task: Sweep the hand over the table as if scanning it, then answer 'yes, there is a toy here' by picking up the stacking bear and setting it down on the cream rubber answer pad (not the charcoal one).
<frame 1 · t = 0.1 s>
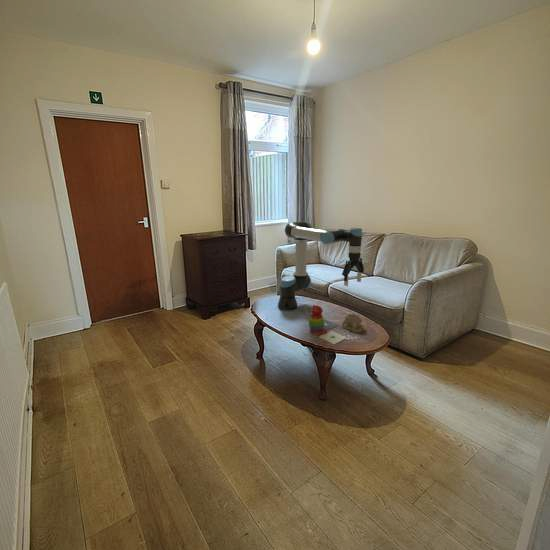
hand: (352, 283, 207), 28 cm above the table, fingers open, 13 cm apart
stacking bear: (317, 332, 201), on the table, touching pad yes
beige lumpy chunk: (352, 328, 207), on the table
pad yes: (332, 337, 193), on the table
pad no: (325, 324, 211), on the table
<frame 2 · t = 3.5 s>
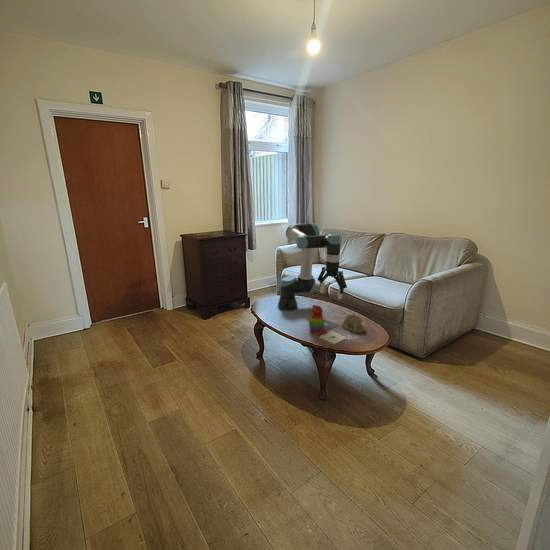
hand: (330, 295, 186), 27 cm above the table, fingers open, 13 cm apart
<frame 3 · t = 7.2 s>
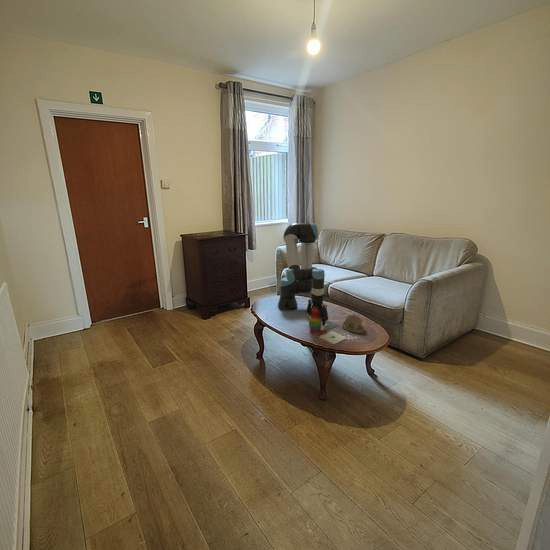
hand: (316, 326, 200), 4 cm above the table, fingers closed on stacking bear, 9 cm apart
stacking bear: (316, 332, 201), on the table, touching gripper, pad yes
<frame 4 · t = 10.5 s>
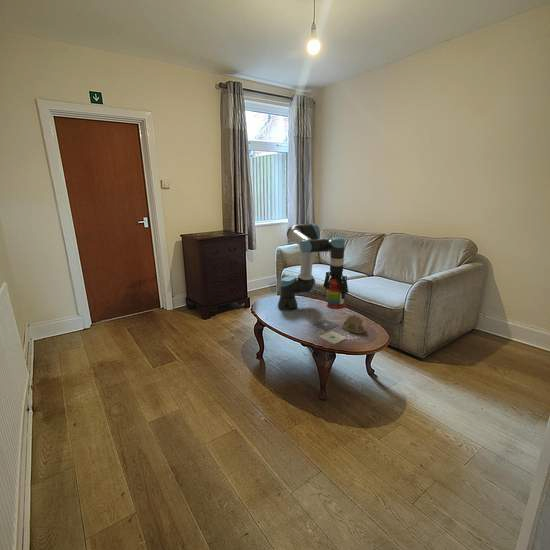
hand: (334, 301, 186), 24 cm above the table, fingers closed on stacking bear, 9 cm apart
stacking bear: (335, 306, 187), point 21 cm above the table, touching gripper
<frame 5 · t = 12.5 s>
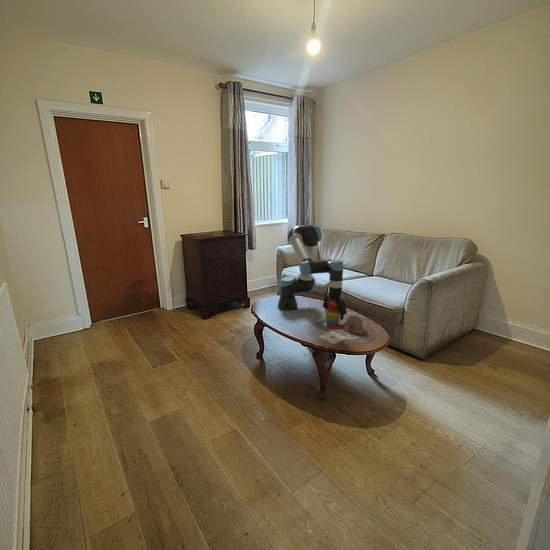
hand: (333, 321, 190), 11 cm above the table, fingers closed on stacking bear, 9 cm apart
stacking bear: (334, 326, 191), point 7 cm above the table, touching gripper
when the fingers open (6 cm above the table, at t = 14.2 s): stacking bear drops 2 cm, resting on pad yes.
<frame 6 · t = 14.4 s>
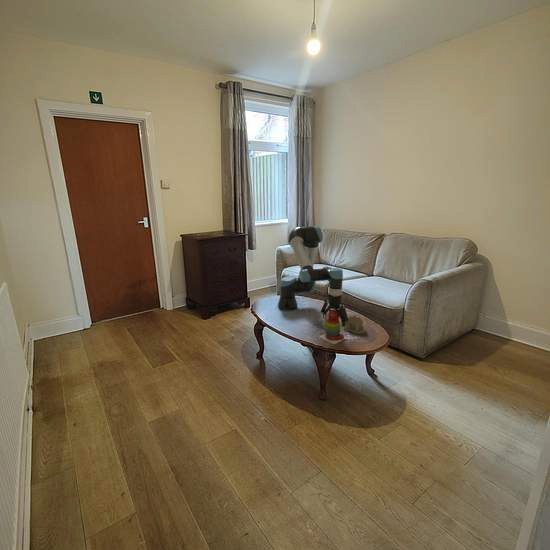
hand: (333, 327, 191), 7 cm above the table, fingers open, 12 cm apart
stacking bear: (333, 337, 193), resting on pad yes
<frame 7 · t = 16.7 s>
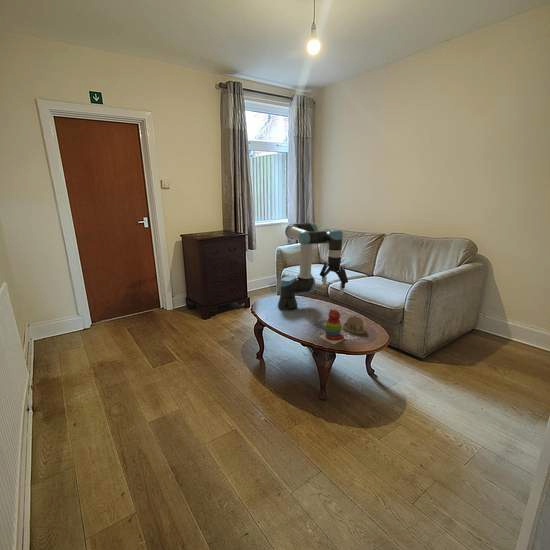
hand: (332, 290, 190), 29 cm above the table, fingers open, 13 cm apart
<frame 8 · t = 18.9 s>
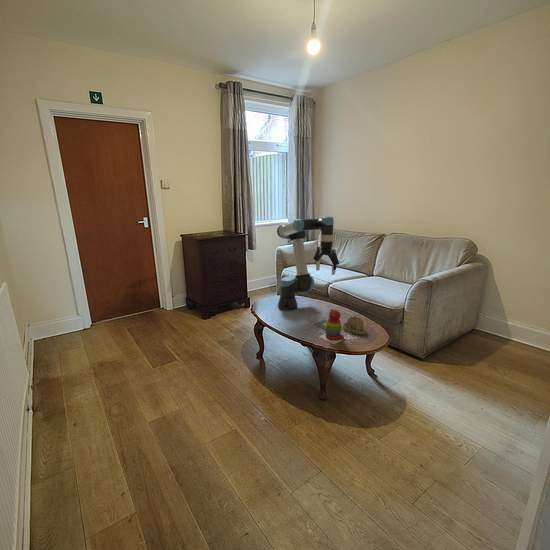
hand: (325, 272, 208), 35 cm above the table, fingers open, 13 cm apart
at the end: stacking bear inside the target area on the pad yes (0.2 cm from its centre), point 0.3 cm above the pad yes's base; stacking bear tilted 1°; the gripper is holding nothing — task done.
